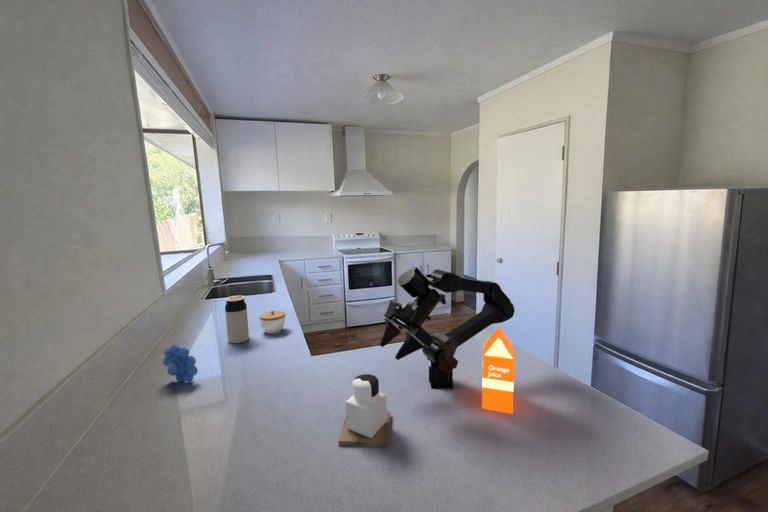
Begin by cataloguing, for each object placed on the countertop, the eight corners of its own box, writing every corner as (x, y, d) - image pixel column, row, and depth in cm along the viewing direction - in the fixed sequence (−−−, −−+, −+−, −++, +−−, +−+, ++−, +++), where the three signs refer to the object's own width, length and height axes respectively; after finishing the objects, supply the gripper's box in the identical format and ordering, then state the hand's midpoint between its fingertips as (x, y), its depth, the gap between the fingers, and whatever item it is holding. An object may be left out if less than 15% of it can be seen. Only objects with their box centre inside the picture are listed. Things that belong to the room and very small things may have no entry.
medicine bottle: (362, 412, 83) (361, 368, 81) (387, 421, 79) (386, 375, 78) (346, 429, 77) (344, 381, 75) (371, 439, 73) (370, 389, 72)
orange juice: (511, 395, 91) (514, 326, 89) (513, 413, 83) (515, 338, 80) (482, 390, 94) (484, 323, 91) (481, 408, 86) (482, 335, 83)
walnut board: (390, 415, 83) (390, 412, 83) (387, 446, 72) (387, 442, 72) (347, 414, 84) (347, 411, 84) (338, 445, 73) (338, 440, 73)
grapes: (154, 387, 100) (149, 349, 98) (172, 376, 106) (168, 340, 104) (187, 390, 97) (182, 352, 96) (203, 379, 104) (200, 343, 102)
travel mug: (253, 338, 136) (249, 296, 134) (235, 345, 130) (231, 301, 127) (241, 335, 141) (238, 294, 138) (224, 341, 134) (220, 298, 132)
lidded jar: (276, 325, 152) (275, 305, 151) (291, 329, 146) (290, 309, 144) (255, 332, 143) (254, 312, 142) (270, 337, 137) (269, 316, 136)
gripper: (389, 283, 97) (355, 325, 94) (423, 297, 81) (383, 349, 78) (412, 305, 102) (381, 345, 99) (448, 323, 85) (412, 372, 82)
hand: (388, 352), depth 89 cm, fingers open, 9 cm apart
